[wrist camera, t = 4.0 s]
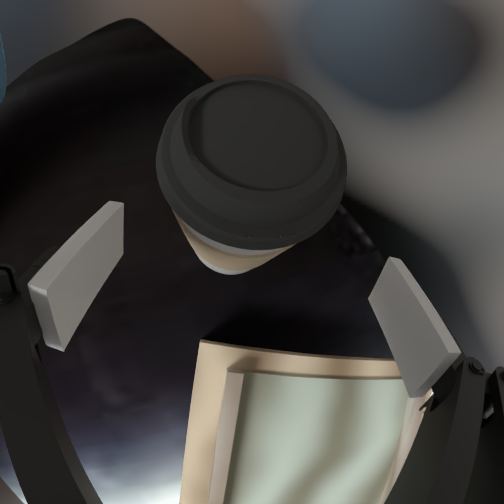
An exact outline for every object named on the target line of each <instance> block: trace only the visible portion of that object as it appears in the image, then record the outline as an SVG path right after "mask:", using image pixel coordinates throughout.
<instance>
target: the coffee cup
mask: <svg viewBox="0 0 504 504" xmlns="http://www.w3.org/2000/svg"><path fill="white" fill-rule="evenodd" d="M156 170H157V177H158V181H159V184H160V187H161V190H162V192H163V194H164V196H165V198H166V200H167V202H168V203H169V205H170V206H171V208H172V210H173V212H174V214H175V216H176V218H177V220H178V222H179V224H180V226H181V228H182V230H183V232H184V233H185V235H186V237H187V239H188V241H189V243H190V244H191V246H192V247H193V249H194V250H195V252H196V254H197V256H198V257H199V259H200V260H201V261H202V262H203V263H204V264H205V265H206V266H208V267H209V268H211V269H212V270H214V271H217V272H219V273H223V274H240V273H244V272H246V271H249V270H251V269H252V268H255V267H258V266H260V265H262V264H264V263H265V262H267V261H269V260H270V259H272V258H274V257H275V256H277V255H278V254H280V253H282V252H283V251H285V250H287V249H288V248H290V247H292V246H293V245H295V244H296V243H299V242H301V241H303V240H305V239H307V238H309V237H310V236H312V235H314V234H315V233H316V232H318V231H319V230H320V229H321V228H322V227H324V226H325V225H326V224H327V222H328V221H329V220H330V219H331V218H332V216H333V215H334V213H335V212H336V210H337V208H338V206H339V204H340V202H341V199H342V195H343V192H344V186H345V182H346V175H347V162H346V154H345V150H344V147H343V143H342V141H341V138H340V135H339V133H338V131H337V129H336V128H335V126H334V124H333V123H332V121H331V120H330V118H329V117H328V115H327V113H326V112H325V111H324V109H323V108H322V107H321V106H320V105H319V103H318V102H317V101H316V100H315V99H313V98H312V97H311V96H310V95H309V94H307V93H306V92H305V91H303V90H302V89H300V88H298V87H296V86H295V85H293V84H291V83H289V82H286V81H284V80H281V79H277V78H274V77H270V76H264V75H238V76H232V77H228V78H225V79H221V80H217V81H214V82H211V83H209V84H207V85H204V86H202V87H200V88H199V89H197V90H195V91H194V92H192V93H191V94H189V95H188V96H187V97H186V98H184V99H183V100H182V101H181V102H180V103H179V104H178V105H177V106H176V108H175V109H174V110H173V112H172V113H171V115H170V116H169V118H168V120H167V122H166V124H165V126H164V129H163V132H162V136H161V138H160V141H159V145H158V149H157V155H156Z"/></svg>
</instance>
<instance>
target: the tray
mask: <svg viewBox="0 0 504 504" xmlns="http://www.w3.org/2000/svg"><path fill="white" fill-rule="evenodd" d="M431 389H432V388H431ZM431 389H430V390H429V391H428V392H427V393H426V394H425V395H424V396H423V397H417V398H409V395H408V392H407V390H406V387H405V384H404V382H403V379H402V377H401V374H400V372H399V369H398V367H397V364H396V362H395V359H394V358H365V357H346V356H331V355H319V354H307V353H297V352H287V351H278V350H270V349H262V348H254V347H247V346H240V345H233V344H227V343H221V342H214V341H208V340H203V339H201V340H200V345H199V351H198V358H197V364H196V371H195V378H194V385H193V392H192V399H191V407H190V414H189V422H188V430H187V438H186V447H185V455H184V464H183V473H182V483H181V493H180V503H179V504H384V502H385V501H386V499H387V497H388V495H389V493H390V491H391V489H392V487H393V485H394V484H395V482H396V480H397V477H398V475H399V473H400V471H401V469H402V467H403V465H404V463H405V460H406V458H407V456H408V454H409V451H410V449H411V447H412V444H413V442H414V439H415V437H416V434H417V432H418V429H419V426H420V424H421V421H422V418H423V415H424V413H423V412H424V411H425V409H426V407H425V408H423V409H422V410H421V411H419V408H420V407H421V406H422V405H423V404H424V403H425V402H426V401H427V400H428V399H429V398H430V394H431Z"/></svg>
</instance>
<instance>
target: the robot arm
mask: <svg viewBox="0 0 504 504" xmlns="http://www.w3.org/2000/svg"><path fill="white" fill-rule="evenodd" d="M6 82H7V80H6V66H5V58H4V52H3V46H2V40H1V35H0V105H1V103H2V101H3V99H4V96H5V92H6ZM123 214H124V203H119V202H114V201H109V202H108V203H106V204H105V205H104V206H103V207H102V208H101V209H100V210H99V211H98V212H97V213H95V214H94V215H93V216H92V217H91V218H90V219H89V220H88V221H87V222H86V223H85V224H84V225H83V226H82V227H81V228H80V229H79V230H78V231H77V232H76V233H74V234H73V235H72V236H71V237H70V238H69V239H68V240H67V241H66V243H65V244H64V245H63V246H62V247H60V246H56V245H55V246H54V247H52V248H50V249H48V250H46V251H45V252H44V253H43V254H42V255H41V256H40V257H39V258H38V260H36V261H35V262H34V263H33V264H32V266H30V267H29V268H28V269H27V271H26V272H25V273H24V274H23V275H22V276H21V277H20V278H19V279H17V275H16V271H15V269H14V267H13V266H11V265H9V264H0V421H1V426H2V430H3V434H4V437H5V441H6V445H7V448H8V452H9V455H10V458H11V461H12V464H13V467H14V470H15V473H16V476H17V478H18V481H19V484H20V486H21V489H22V491H23V494H24V496H25V499H26V501H27V503H28V504H103V503H102V501H101V500H100V498H99V496H98V495H97V493H96V491H95V489H94V488H93V486H92V484H91V482H90V480H89V478H88V476H87V474H86V472H85V470H84V468H83V466H82V464H81V462H80V460H79V458H78V456H77V454H76V452H75V450H74V447H73V445H72V443H71V440H70V438H69V436H68V433H67V431H66V428H65V426H64V423H63V421H62V418H61V415H60V413H59V410H58V407H57V404H56V401H55V399H54V396H53V392H52V389H51V386H50V383H49V380H48V376H47V373H46V369H45V366H44V362H43V358H42V354H41V350H40V346H39V344H38V341H39V339H40V337H41V336H42V334H43V337H44V340H45V343H46V345H47V346H50V347H53V348H55V349H58V350H61V351H64V350H65V348H66V346H67V344H68V342H69V341H70V339H71V337H72V335H73V334H74V332H75V330H76V328H77V326H78V325H79V323H80V321H81V320H82V318H83V316H84V314H85V313H86V311H87V309H88V308H89V306H90V304H91V303H92V301H93V300H94V298H95V296H96V295H97V293H98V292H99V290H100V288H101V287H102V285H103V284H104V282H105V281H106V279H107V277H108V276H109V274H110V273H111V271H112V270H113V268H114V267H115V265H116V264H117V262H118V261H119V259H120V258H121V256H122V255H123ZM368 300H369V302H370V304H371V306H372V308H373V311H374V313H375V315H376V317H377V319H378V322H379V324H380V326H381V328H382V331H383V333H384V335H385V338H386V340H387V342H388V345H389V347H390V350H391V352H392V354H393V357H394V359H395V362H396V364H397V367H398V369H399V372H400V374H401V377H402V379H403V382H404V384H405V387H406V390H407V392H408V395H409V398H417V397H423V396H424V395H425V394H426V393H427V392H428V391H429V390H430V389H431V388H432V391H433V393H434V394H433V395H432V396H431V397H430V398H429V399H428V400H427V401H426V402H425V403H424V404H423V405H422V406H421V407H420V408H419V411H421V410H422V409H423V408H425V407H426V409H425V411H424V412H423V413H424V415H423V418H422V421H421V424H420V426H419V429H418V432H417V434H416V437H415V439H414V442H413V444H412V447H411V449H410V451H409V454H408V456H407V458H406V460H405V463H404V465H403V467H402V469H401V471H400V473H399V475H398V477H397V480H396V482H395V484H394V485H393V487H392V489H391V491H390V493H389V495H388V497H387V499H386V501H385V502H384V504H504V368H503V367H500V366H499V367H497V368H496V369H495V370H494V371H493V373H492V374H490V373H486V372H485V370H484V368H483V366H482V365H481V363H480V362H479V361H478V360H476V359H475V358H473V357H466V356H465V355H464V353H463V351H462V350H461V348H460V346H459V344H458V343H457V341H456V339H455V338H454V337H453V334H452V333H451V331H450V330H449V328H448V326H447V324H446V323H445V321H444V320H443V319H442V318H441V317H440V316H439V315H438V313H437V311H436V310H435V308H434V307H433V305H432V304H431V302H430V301H429V299H428V298H427V296H426V295H425V293H424V292H423V291H422V289H421V287H420V286H419V285H418V283H417V282H416V280H415V279H414V278H413V276H412V274H411V273H410V272H409V270H408V269H407V267H406V266H405V265H404V263H403V262H402V261H401V260H400V259H397V258H393V257H389V258H388V260H387V262H386V264H385V266H384V268H383V270H382V272H381V274H380V276H379V278H378V280H377V282H376V284H375V286H374V288H373V290H372V292H371V294H370V296H369V298H368ZM492 407H493V408H494V413H492V414H491V415H490V416H489V417H488V418H487V419H486V418H485V414H486V413H487V412H488V411H489V410H490V409H491V408H492Z"/></svg>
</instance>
